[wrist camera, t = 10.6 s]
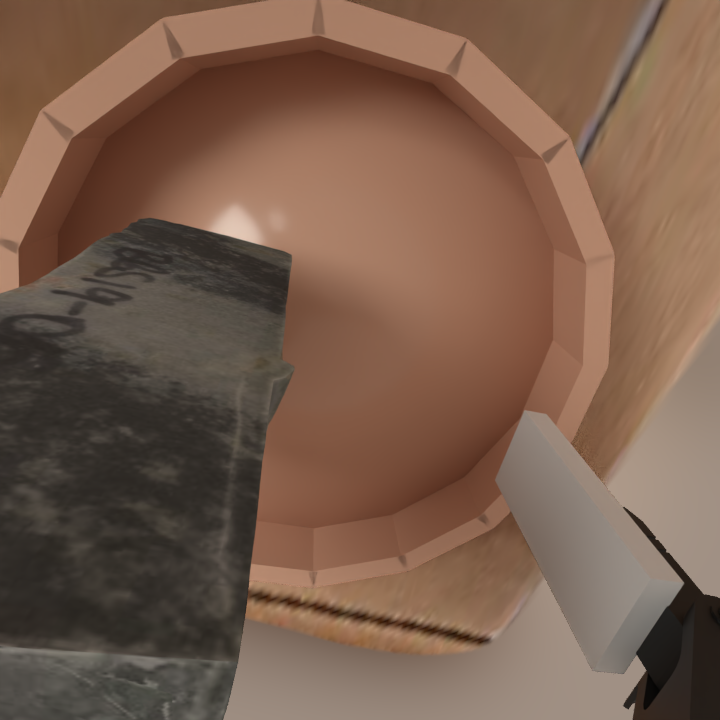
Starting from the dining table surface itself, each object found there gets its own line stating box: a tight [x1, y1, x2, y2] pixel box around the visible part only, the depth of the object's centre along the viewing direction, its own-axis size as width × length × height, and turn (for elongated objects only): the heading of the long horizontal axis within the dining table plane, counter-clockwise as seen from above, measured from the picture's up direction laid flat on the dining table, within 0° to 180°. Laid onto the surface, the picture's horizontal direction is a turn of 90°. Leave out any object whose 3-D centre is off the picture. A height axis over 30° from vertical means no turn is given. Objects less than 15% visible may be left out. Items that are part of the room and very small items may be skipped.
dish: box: [0, 0, 615, 588], centre depth 20 cm, size 22×22×4 cm
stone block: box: [0, 218, 295, 720], centre depth 11 cm, size 9×14×5 cm
